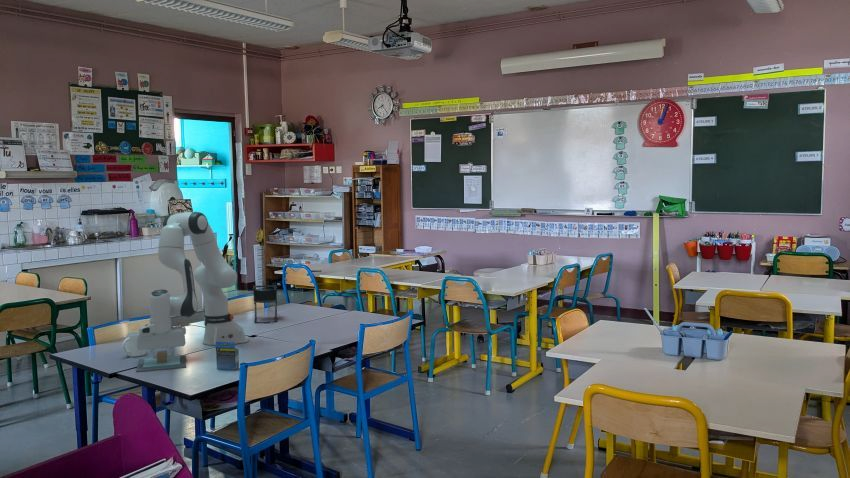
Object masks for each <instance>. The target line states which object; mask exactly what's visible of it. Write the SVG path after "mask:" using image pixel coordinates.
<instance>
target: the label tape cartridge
mask: <svg viewBox="0 0 850 478" xmlns="http://www.w3.org/2000/svg"><path fill="white" fill-rule="evenodd" d="M224 344H226V345H224ZM235 345H236V344H234V342H216V346H215V355H216V356H215V357H216V359H215V360H216V370H217V369H219V370H220V371H222V370H223V371H226V370H227V371H237V370H238V369H239V368H240V358H239V357H240V354H239V353H240V352H239V349H238V348H236V347H235ZM219 370H218V371H219Z"/></svg>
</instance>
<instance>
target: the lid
mask: <svg viewBox="0 0 850 478" xmlns="http://www.w3.org/2000/svg"><path fill="white" fill-rule="evenodd" d="M167 353H168V351H167V350H161V351H158V350H157V352H156V354H157V358H153V357H147V358H144V359H145V360H144V364H143V369H148V368H159V367H171V366H180V356H181V355H170V357H167Z"/></svg>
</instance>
